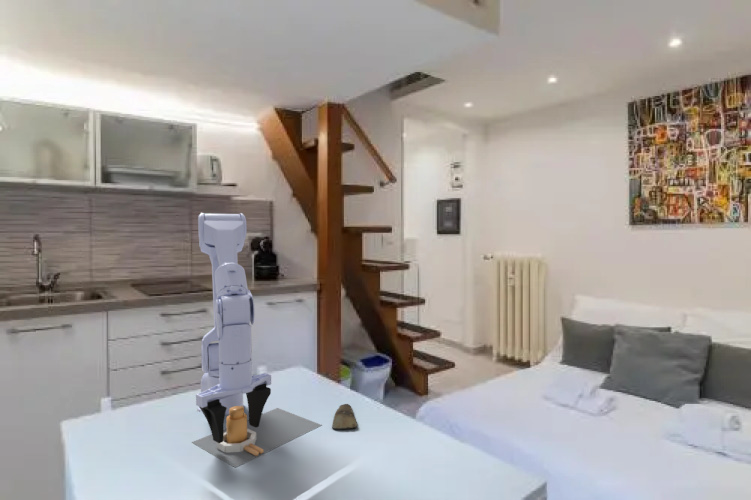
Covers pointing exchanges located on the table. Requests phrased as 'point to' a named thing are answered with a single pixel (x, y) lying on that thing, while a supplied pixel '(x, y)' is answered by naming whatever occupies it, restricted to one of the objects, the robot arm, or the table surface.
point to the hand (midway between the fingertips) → (236, 433)
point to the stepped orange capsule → (236, 425)
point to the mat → (259, 437)
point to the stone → (344, 418)
